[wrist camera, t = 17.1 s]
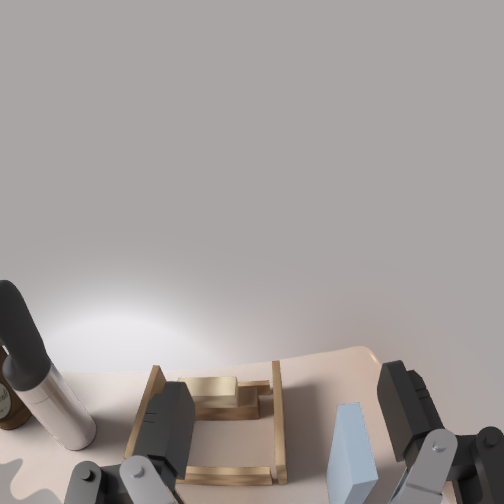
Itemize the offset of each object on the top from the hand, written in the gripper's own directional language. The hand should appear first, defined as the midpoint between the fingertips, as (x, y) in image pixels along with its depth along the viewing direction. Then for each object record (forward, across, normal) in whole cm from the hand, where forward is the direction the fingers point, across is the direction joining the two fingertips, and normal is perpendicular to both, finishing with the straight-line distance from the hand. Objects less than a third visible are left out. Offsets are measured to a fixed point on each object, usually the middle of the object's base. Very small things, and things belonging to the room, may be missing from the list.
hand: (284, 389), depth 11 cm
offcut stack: (+24, +12, +36) cm, 45 cm away
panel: (+5, -6, +36) cm, 37 cm away
